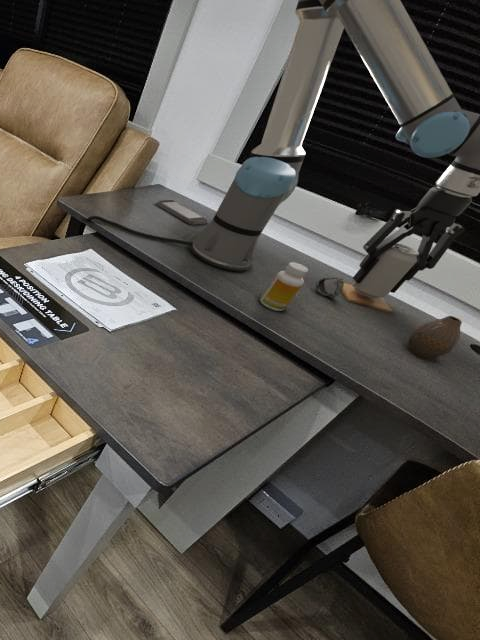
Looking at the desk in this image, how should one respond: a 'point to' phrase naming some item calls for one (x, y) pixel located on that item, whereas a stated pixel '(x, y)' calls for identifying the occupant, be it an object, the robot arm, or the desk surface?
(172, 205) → the smartphone
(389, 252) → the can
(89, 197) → the desk surface
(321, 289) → the wristwatch
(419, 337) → the vase
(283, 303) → the supplement bottle
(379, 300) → the coaster
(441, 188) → the robot arm
